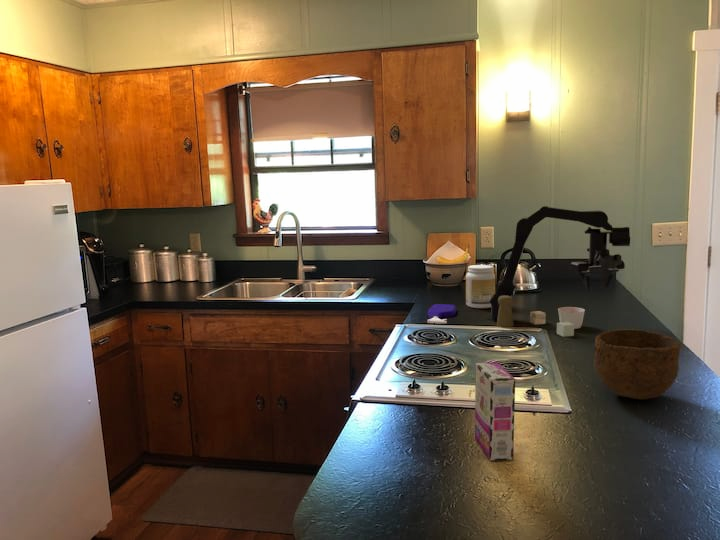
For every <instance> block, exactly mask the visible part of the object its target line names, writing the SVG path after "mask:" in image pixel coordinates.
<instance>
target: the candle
mask: <svg viewBox="0 0 720 540" xmlns="http://www.w3.org/2000/svg"><path fill="white" fill-rule="evenodd" d="M557 311H558V318H559V323H560V322H569V323H572V324H574V330H576V329H580V328H582V326H583V320H584V317H585V311H586V309H584V308H582V307H576V306H575V307H574V306H563V307H559V308H557Z"/></svg>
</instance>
